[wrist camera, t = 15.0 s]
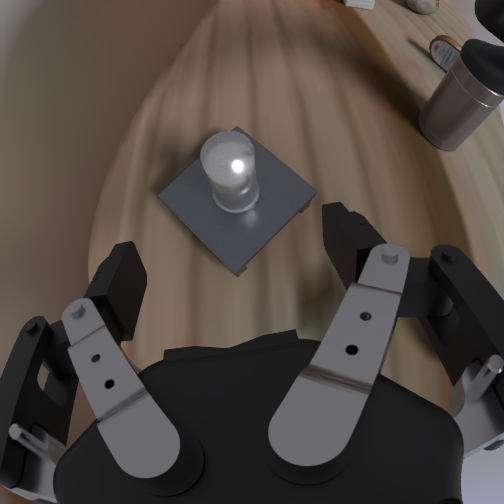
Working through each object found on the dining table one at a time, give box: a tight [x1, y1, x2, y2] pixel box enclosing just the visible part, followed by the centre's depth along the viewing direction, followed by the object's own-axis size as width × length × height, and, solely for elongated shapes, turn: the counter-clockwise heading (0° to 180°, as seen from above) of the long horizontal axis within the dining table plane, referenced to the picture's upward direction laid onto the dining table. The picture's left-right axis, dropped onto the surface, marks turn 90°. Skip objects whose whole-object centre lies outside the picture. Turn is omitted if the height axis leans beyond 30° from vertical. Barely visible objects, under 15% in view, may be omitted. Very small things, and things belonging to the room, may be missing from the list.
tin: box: [429, 35, 462, 72], centre depth 42 cm, size 15×3×8 cm, turn 40°
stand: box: [158, 126, 317, 277], centre depth 38 cm, size 14×14×5 cm
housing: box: [200, 131, 260, 214], centre depth 31 cm, size 6×6×10 cm
